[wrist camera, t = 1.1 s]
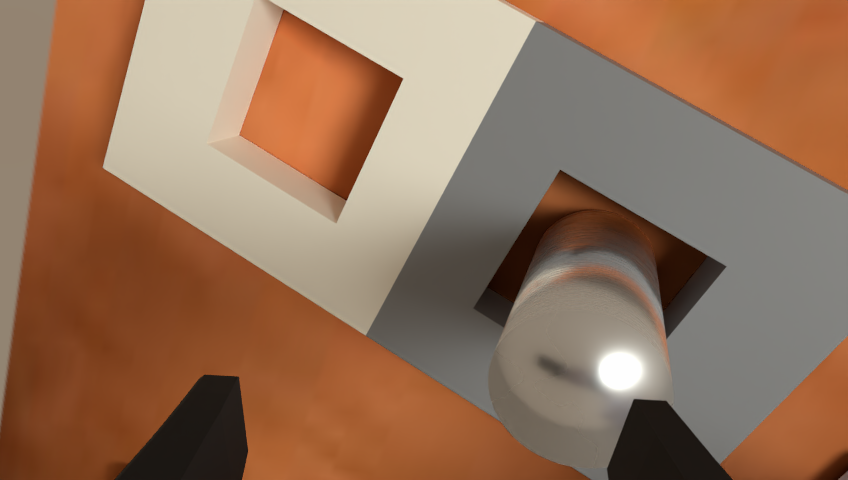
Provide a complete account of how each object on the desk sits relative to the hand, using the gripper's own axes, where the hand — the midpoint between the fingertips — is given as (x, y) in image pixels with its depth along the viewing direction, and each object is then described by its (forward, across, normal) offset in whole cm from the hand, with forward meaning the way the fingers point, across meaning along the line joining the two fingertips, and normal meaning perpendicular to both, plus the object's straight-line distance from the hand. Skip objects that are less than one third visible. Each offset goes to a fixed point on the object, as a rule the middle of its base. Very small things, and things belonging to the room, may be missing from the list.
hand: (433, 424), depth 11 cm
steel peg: (+9, -6, +3) cm, 11 cm away
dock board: (+11, -1, +1) cm, 11 cm away
